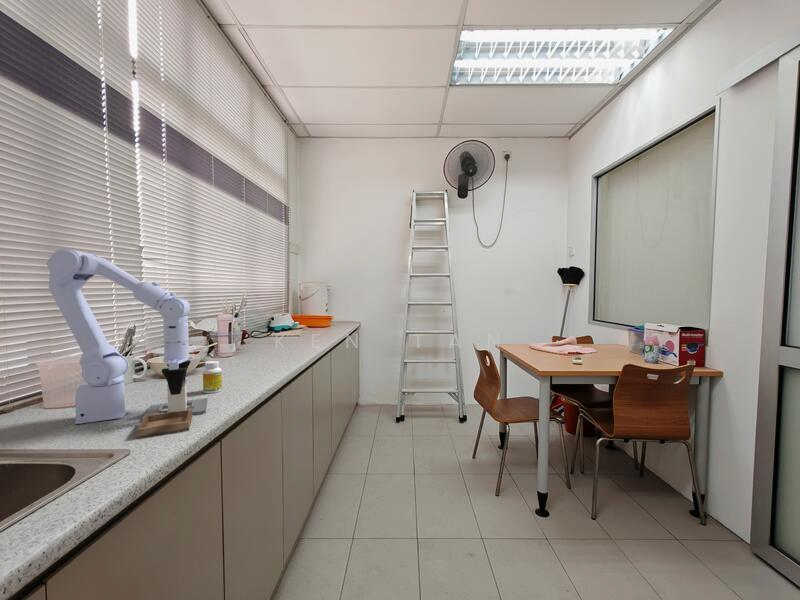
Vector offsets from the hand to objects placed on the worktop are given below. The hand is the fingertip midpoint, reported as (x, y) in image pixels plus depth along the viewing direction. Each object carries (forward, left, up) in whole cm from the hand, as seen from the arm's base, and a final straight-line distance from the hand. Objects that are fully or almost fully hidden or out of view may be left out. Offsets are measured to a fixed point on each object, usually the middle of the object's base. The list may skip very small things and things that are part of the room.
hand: (177, 390), depth 95 cm
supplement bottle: (+8, +17, -6) cm, 19 cm away
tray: (-1, -12, -6) cm, 13 cm away
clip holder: (0, 0, -6) cm, 6 cm away
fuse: (0, 0, -6) cm, 6 cm away
